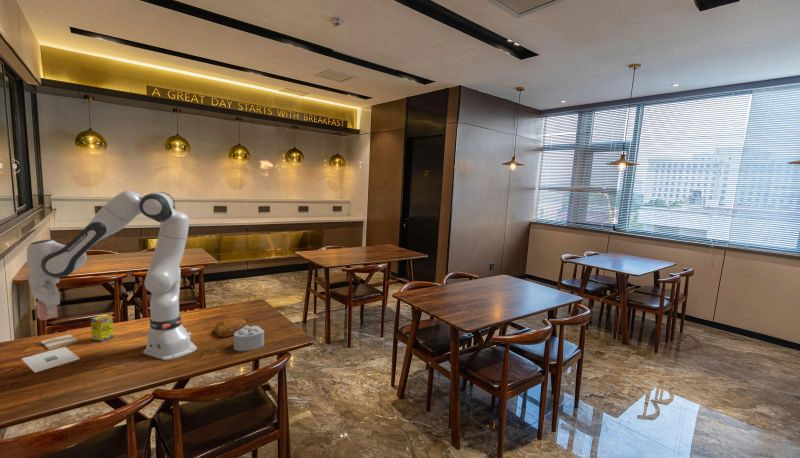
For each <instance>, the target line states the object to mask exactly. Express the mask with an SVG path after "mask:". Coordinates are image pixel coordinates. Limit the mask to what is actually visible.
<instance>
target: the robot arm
mask: <svg viewBox="0 0 800 458" xmlns="http://www.w3.org/2000/svg"><path fill="white" fill-rule="evenodd" d="M175 205H176V204H175V200H174V198H173V196H171V194H169V193H167V192H163V191H155V192H154V191H153V192H150V193H148V194H145V195H144V196H143V195H141V194H139V193H138V192H135V191H133V190H128V189H127V190H124V191H122V192H120V193H118V194H117V195H115V196H114V197H112V199H110V200H108V201H107V202H106V204H104V205H103V206H102V207H101V208H100V209H99V210H98V212H97V213H96V214H95V215H94V217H93V218H92V219H91V220H90V221H89V222H88V223H87V225H86V226H85V227H84V228H83V229H82V230H81V231H80V232H79V233H77V235H76V236H75V237H74V238H73V239H72V240H70V241H69V242H68V243H67V244H66V245H65V244H62V243H59V242H57V241H55V240H53V239H42V240H38V241H33V242H31V243H29V244H28V245H27V249H26V262H27V263H26V264H27V266H28V272H27V274H28V276H27V282H28V285H29V286H30V291H31V294H32V297H33V298H35V299H36V300H37V301H41V302H42V303H44V304H45V305H46V307H47V309H46V313H47V314H52V313H53V308H54V306H56V305H57V306H59V305H60V303H61V299H60V293H59V289H58V286H56V284H59V283H60V279H62V278H65V277H67V276H69V275H71V274H72V273H73V272H75V271H76V270H78V269H79V268H82V267H83V266H84V265H86V263H87V262H88V253H87V251H89V250H90V249H91V248H92V247H93V246H95V244H96V243H98V242H100V241H101V240H103V239H105V238H107V237H110V236H112V235H114V234H116V233H117V232H119V231H120V230H122V229H124V228H125V227H126V226H128V225H129V224H130V223H131V222H133V221H132V220H134V219H135V218H136V217H137V216H139V215H141V214H142V215H143V216H145V217H146V218H149V219H152V220H154V221H155V222H157V223H159V224H160V226H159V231H158V235H157V240H156V244H155V248H154V252H153V254H152V258H151V261H150V263H149V266H148V269H147V272H146V275H145V279H144V287H145V289H146V291H148V292H149V293H151V295H150V297H151V298H150V301H149V302H150V303H149V305H150V318H149V328H150V329H149V331H148V333H147V334H146V348H145V349H143V355H147V356H150V357H153V358H156V359H159V360H162V361H170V360H175V359H178V358H181V357H184V356H187V355H189V354H191V353H193V352H195V351H196V350H197V349H198V347H197V346H196V345H195V344H194V343H193V342H192V341H191V337H192V332H190V331H187V328H186V327H185V326H183V324H182V323H183V322H182V321H183V320H182V317H181V314H180V290H181V289H180V288H181V272H182V271H181V266H180V264H181V262H182V259H183V256H184V253H185V248H186V244H187V240H188V235H189V234H188V233H189V227H190V223H189V222H190V221H189V219H190V218H189V217H188V214H186V213H184V212H181V211H179V210H178V211H177V210H175Z"/></svg>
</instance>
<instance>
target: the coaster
mask: <svg viewBox="0 0 800 458" xmlns="http://www.w3.org/2000/svg"><path fill="white" fill-rule="evenodd" d="M77 342H78V339H77V338H76V337H74V336H73V334H70V333H68V334H64V335H60V336H57V337H54V338H48V339H44V340H42V341H40V344H41V345H42V346H44V347H45V348H46V349H47V350H51V349H52V350H53V349H57V348H58V347H59V348H60V347H64V346H67V345H69V344H73V343H77Z"/></svg>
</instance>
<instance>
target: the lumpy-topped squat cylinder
mask: <svg viewBox="0 0 800 458" xmlns="http://www.w3.org/2000/svg"><path fill="white" fill-rule="evenodd" d="M264 346H265V330H264V329H262V328H261V326H258V325H253V326H252V325H251V326H249V325H247V326H244V327H243V328H242V329H240V330H238V331H236V332H235V333H234V335H233V349H234V351H237V352H248V351H253V350H256V349H260V348H262V347H264Z"/></svg>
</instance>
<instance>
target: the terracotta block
mask: <svg viewBox="0 0 800 458" xmlns="http://www.w3.org/2000/svg"><path fill="white" fill-rule="evenodd" d="M35 307H36V309H35V310H36V316H37V317H36V318H37V319H38V320H40V321H45V320H49V319H54V318H58V317H59V315H58V305H56V306H54V308H53V313H52V314H47V313H46V309H47V307H46V305H45V304H44V303H42V302H41V301H39V300H36V301H35Z"/></svg>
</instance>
